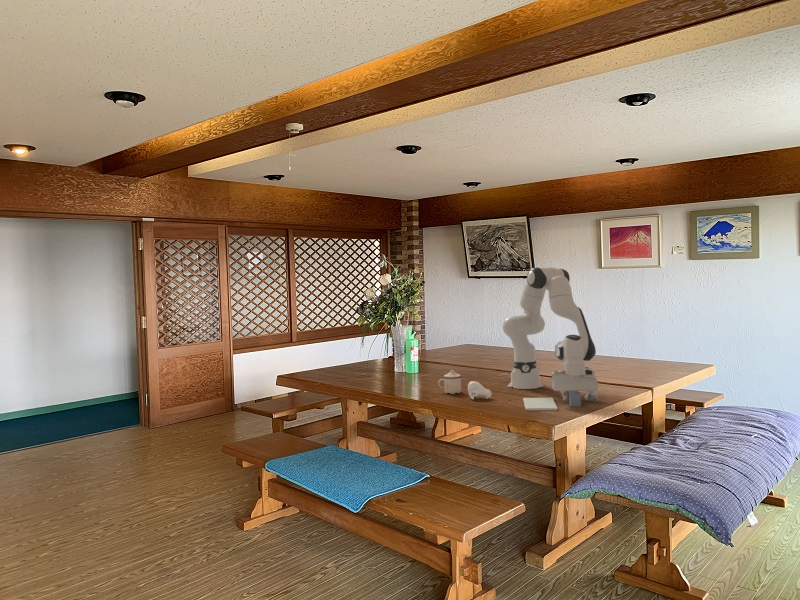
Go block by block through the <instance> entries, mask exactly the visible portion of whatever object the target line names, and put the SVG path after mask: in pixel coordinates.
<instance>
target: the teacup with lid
mask: <svg viewBox="0 0 800 600" xmlns="http://www.w3.org/2000/svg"><path fill="white" fill-rule="evenodd" d="M461 377H462V376H461V374H460V373H459V374H458V373H457V372H455V371H454V370H450V372H448V373H447V374H446V373H445V374H444V375H443V378H441V379H439V380H438V381H437V383H438V385H439V387H440V388H441V389H444V393H445V394H447V393H450V394H449V395H456V394H455V393H458V394H460V393H461V392H462V384H461V382H462V381H461V380H462V379H461ZM441 381H444V383H443V384H444V385H443V386H442V385H441Z"/></svg>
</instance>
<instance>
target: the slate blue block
mask: <svg viewBox="0 0 800 600" xmlns="http://www.w3.org/2000/svg"><path fill="white" fill-rule="evenodd" d="M568 404H569V406H570V407H582V398H581V391H578V392H569V403H568Z"/></svg>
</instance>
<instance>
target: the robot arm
mask: <svg viewBox="0 0 800 600" xmlns="http://www.w3.org/2000/svg"><path fill="white" fill-rule="evenodd" d="M570 279H571V278H570V273H569V272H568V270H566V269H564V268H557V267H532V268H531V269H529V271H528V272H527V276H526V283H525V285H524V288H523V291H522V294H521V297H520V301H519V305H520V307H521V308H522V310H523V314H519V315H513V316H510V317H507V318H505V319H504V320H503V321H502V331H503V332H504V334H505V335H506V336H507V337H508V338H509V339H510V341H511V344H512V347H513V353H514V354H513V355H514V356H513V357H514V358H513V359H514V360H513V370H512V371H511V373H510V383H508V384H507V388H512V387H513V389H517V390H533V389H538V388H543V387H544V384H542V383H541V381H540V380H541V379H540V378H541V377H540V371H539V370H538V369H537V360H536V348H535V345H534V344H533V343H532V342H530V341H529V339H528V336H531V335H537V334H539V333H541V332H543V331H544V330H545V325H546V323H545V319H544V318H543V317H542V315H541V308H542V304H543V301H544V298H545V295H546V290H547V292H548V300H549V307H550V310H551V311H552V313H554V314H555V315H556V316H558V317H561V318H565V319H567V320H570V321H572V322H573V323H574V324H575V325H576V329H577V332H578V334H568V335H566V336H565V337H564V339H563V340H561V341H559V342H557V344H556V345H555V347H554V349H555V356H556V358H557V359H558V360H560V361H563V362H564V363H563V364H564V370H554V371H553V372H552V373H551V379H552V390H553V391H554V392H560V394H561V396H562V400H563V401H567V395H564V394H565V392H567V391H578V392H581V391H585V392H586V393H585V395H583V400H584V401H587V400H588V396H589V394H590V391H595V390H597V389H598V390H599V384H598V383H599V382H598V378H597V376H596V375H595V373H596V372H595V370H594V369H593V368H592V367H588V366H585V362H584V361H586V362H587V361H588V362H590V361H591V360H592V359H594V357H595V356H596V351H597V348H596V346H595V343H594V341H593V339H592V337H591V334H590V331H589V328H588V324H587V320H586V318H585V315H584V312H583V310H582V308H581V307H579V306H577V304H576V302H575V301H574V298H573V293H572V288H571V285H570Z"/></svg>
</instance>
